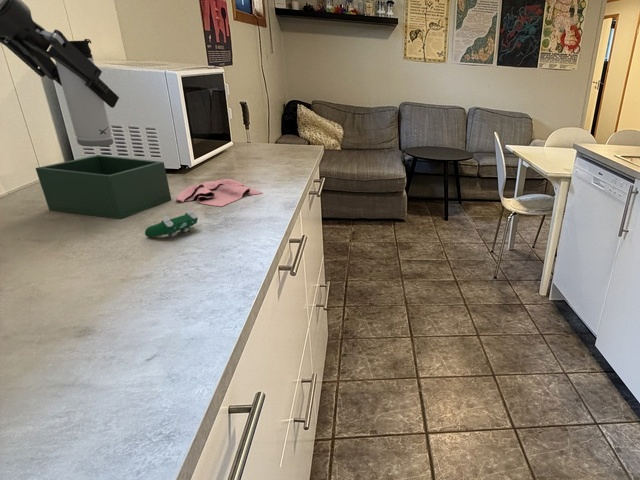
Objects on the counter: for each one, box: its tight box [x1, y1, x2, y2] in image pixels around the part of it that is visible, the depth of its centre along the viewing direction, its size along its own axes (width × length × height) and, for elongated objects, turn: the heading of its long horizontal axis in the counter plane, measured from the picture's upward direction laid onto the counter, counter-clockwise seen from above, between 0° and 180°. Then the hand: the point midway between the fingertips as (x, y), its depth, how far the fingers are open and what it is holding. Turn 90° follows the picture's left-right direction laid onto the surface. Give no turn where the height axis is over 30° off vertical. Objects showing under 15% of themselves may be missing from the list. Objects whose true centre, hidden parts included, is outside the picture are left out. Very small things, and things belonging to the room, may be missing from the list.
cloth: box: [175, 178, 264, 208], centre depth 120 cm, size 20×22×2 cm
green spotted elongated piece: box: [144, 209, 198, 238], centre depth 94 cm, size 9×4×6 cm
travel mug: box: [54, 38, 114, 147], centre depth 96 cm, size 6×7×20 cm
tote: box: [35, 154, 172, 220], centre depth 106 cm, size 17×16×9 cm
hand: (101, 100), depth 100 cm, fingers closed on travel mug, 6 cm apart
